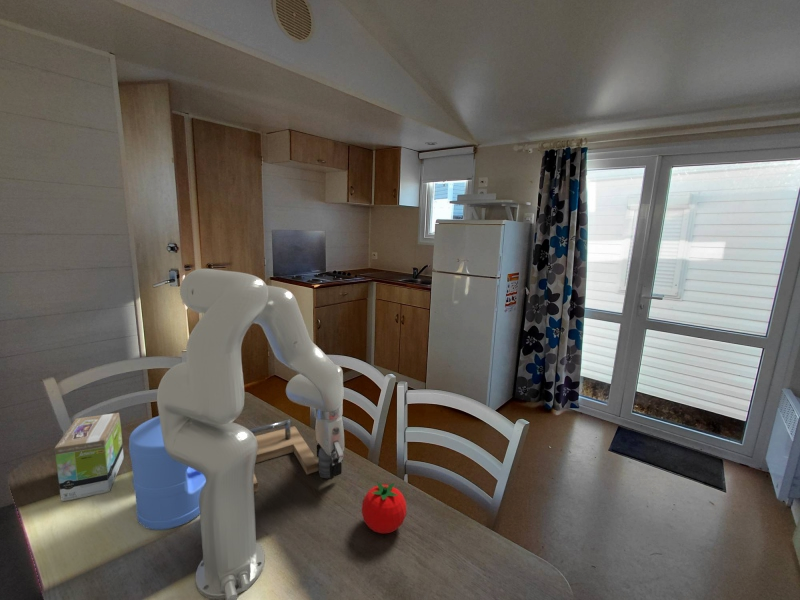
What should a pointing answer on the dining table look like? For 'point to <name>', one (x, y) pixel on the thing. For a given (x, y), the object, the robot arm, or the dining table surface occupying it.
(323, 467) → the coil
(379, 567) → the dining table surface
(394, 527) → the tomato
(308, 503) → the dining table surface
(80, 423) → the tea box
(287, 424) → the metal bar handle
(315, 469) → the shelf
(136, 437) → the water jug
